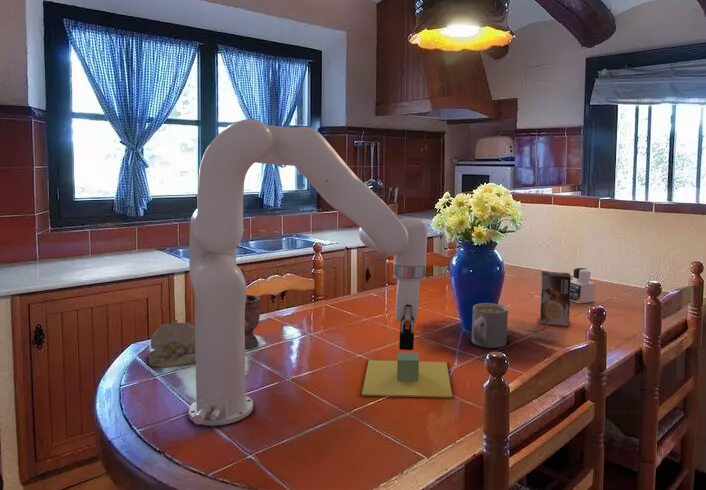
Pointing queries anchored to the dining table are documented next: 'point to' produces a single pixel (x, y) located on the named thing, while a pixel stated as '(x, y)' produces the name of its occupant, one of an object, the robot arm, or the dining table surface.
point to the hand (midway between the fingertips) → (406, 342)
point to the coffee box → (555, 298)
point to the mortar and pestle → (251, 318)
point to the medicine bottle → (582, 286)
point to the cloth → (428, 385)
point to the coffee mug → (489, 325)
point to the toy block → (408, 367)
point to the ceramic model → (173, 345)
